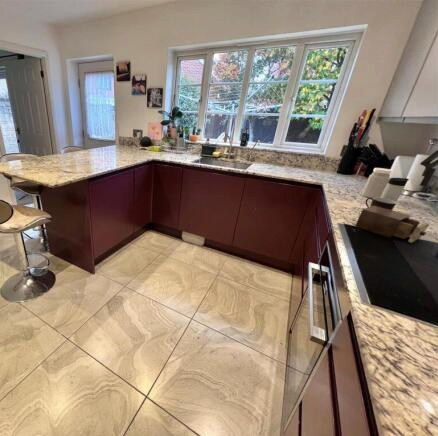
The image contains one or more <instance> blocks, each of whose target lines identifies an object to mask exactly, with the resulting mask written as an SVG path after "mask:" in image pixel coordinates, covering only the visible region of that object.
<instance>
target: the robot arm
mask: <svg viewBox="0 0 438 436" xmlns="http://www.w3.org/2000/svg"><path fill="white" fill-rule="evenodd" d="M437 158H438V149H436V150H435V151H434V152H433V153H431V154H430V155H429V156H427V157H426V158H425V159H424V160H422V161H421V162H420V163H419V165H420V166H423V167H425V168H424V170H423V172H422V174H421V177H423V178H422V180H421V182H420V184H419V186H420V187H427V186H428V184H429V182H430V181H431V179H432V177H433V176H434V174H435V172H436V170H437V168H435V167H437V166H438V159H437Z"/></svg>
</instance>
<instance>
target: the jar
mask: <svg viewBox="0 0 438 436" xmlns="http://www.w3.org/2000/svg"><path fill="white" fill-rule="evenodd" d="M392 173H393V170H392V169H390V168H382V167H374V168H373V171H372V172H371V174H369V176H368V179H367V180H366V182H365V185H364V187H363V189H362V191H361V195H362V196H363V197H365V198H367V199H368V198H372V199H373V198H374V197H379V198H381V196H382V194H383V192H384V190H385V188H386V186H387V184H388V182H389V180H390V178H391V177H390V176H391V174H392Z"/></svg>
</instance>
